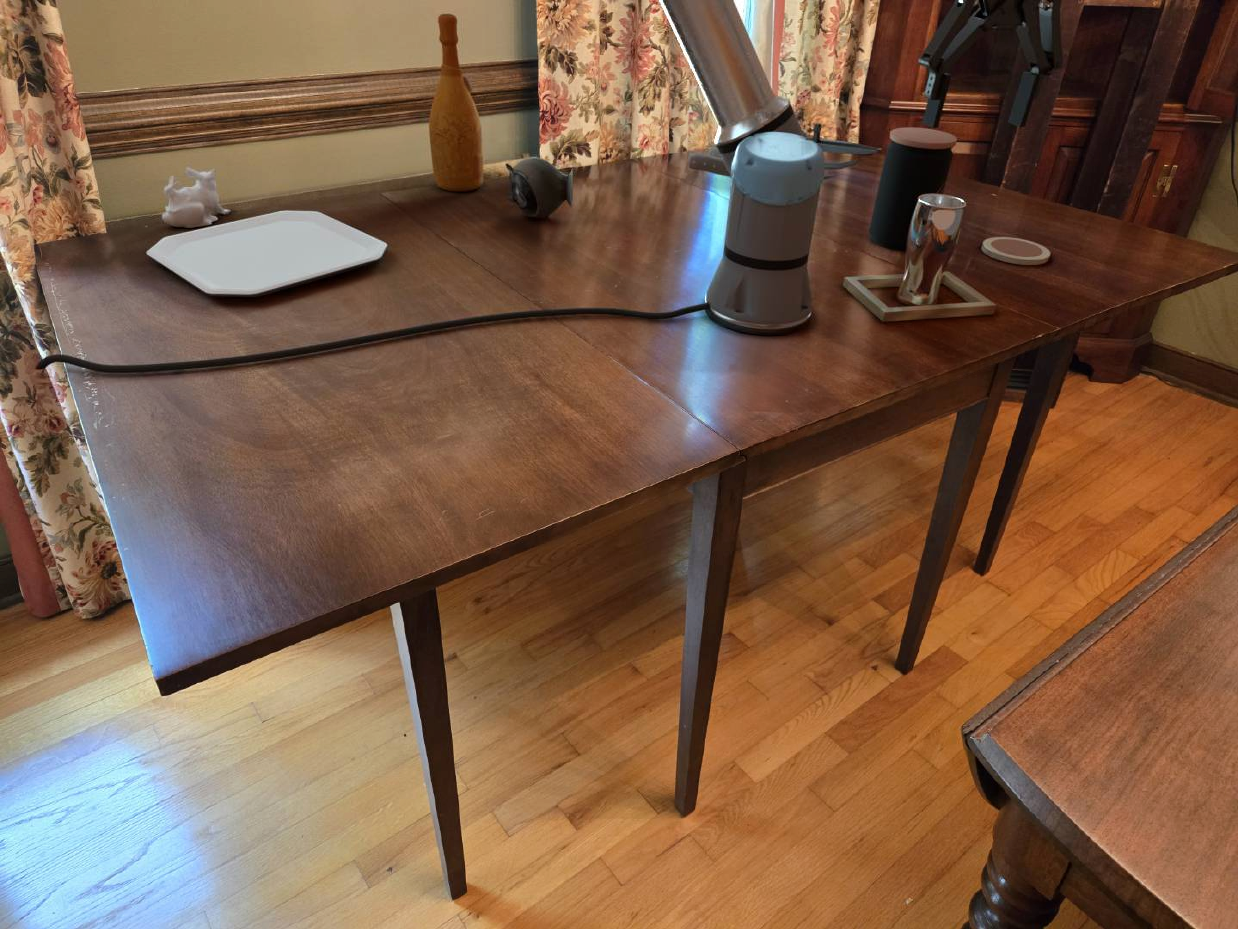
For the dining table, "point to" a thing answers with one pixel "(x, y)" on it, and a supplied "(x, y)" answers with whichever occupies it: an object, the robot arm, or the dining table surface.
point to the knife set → (717, 166)
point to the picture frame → (972, 308)
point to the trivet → (1015, 251)
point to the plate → (266, 253)
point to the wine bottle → (454, 120)
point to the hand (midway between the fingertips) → (973, 125)
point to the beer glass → (930, 247)
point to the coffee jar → (908, 181)
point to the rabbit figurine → (192, 201)
